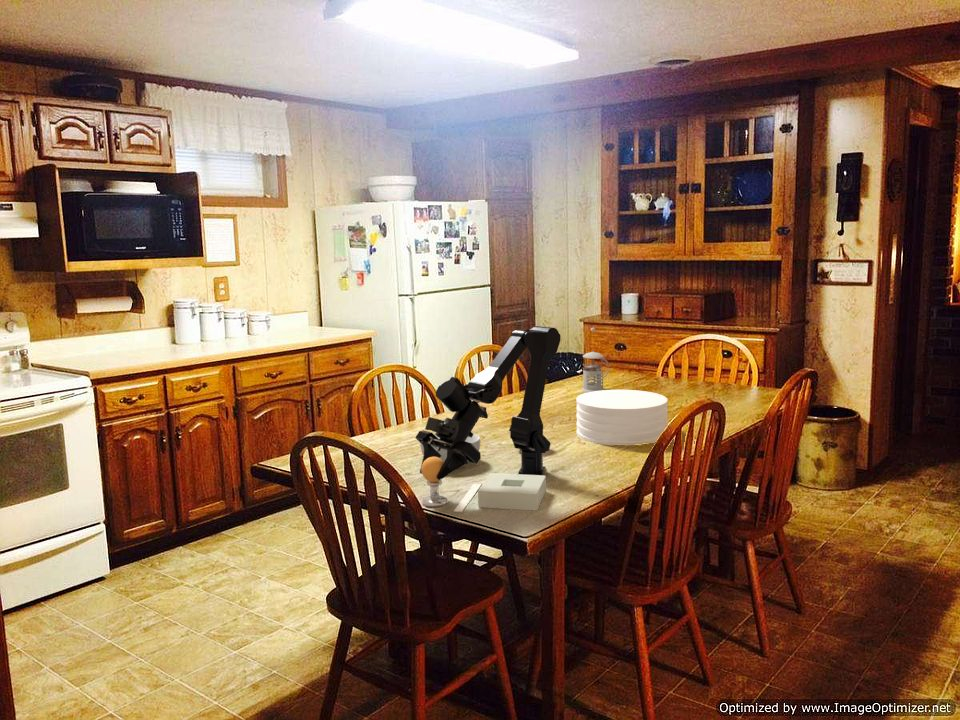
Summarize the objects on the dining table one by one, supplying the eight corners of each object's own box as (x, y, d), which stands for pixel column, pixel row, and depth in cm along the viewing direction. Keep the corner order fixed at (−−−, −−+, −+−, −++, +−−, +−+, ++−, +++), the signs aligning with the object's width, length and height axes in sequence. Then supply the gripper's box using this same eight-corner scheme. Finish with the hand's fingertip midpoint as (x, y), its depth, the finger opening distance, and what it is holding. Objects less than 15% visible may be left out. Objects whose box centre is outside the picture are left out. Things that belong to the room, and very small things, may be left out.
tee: (426, 498, 197) (425, 476, 196) (450, 499, 196) (449, 478, 195) (419, 506, 191) (418, 484, 191) (443, 508, 190) (442, 485, 189)
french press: (576, 388, 322) (576, 326, 318) (602, 386, 325) (603, 325, 321) (587, 393, 313) (586, 329, 309) (614, 391, 316) (614, 328, 312)
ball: (425, 476, 196) (425, 453, 195) (449, 477, 195) (448, 454, 194) (418, 484, 191) (417, 460, 190) (442, 485, 189) (442, 461, 188)
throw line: (473, 484, 207) (473, 483, 207) (481, 485, 206) (481, 484, 206) (453, 511, 187) (453, 511, 187) (461, 512, 187) (461, 511, 187)
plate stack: (669, 425, 262) (669, 390, 260) (664, 448, 236) (665, 410, 234) (583, 421, 270) (583, 388, 268) (570, 444, 243) (569, 407, 241)
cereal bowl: (448, 451, 238) (448, 428, 237) (492, 460, 228) (492, 436, 226) (408, 465, 225) (407, 440, 224) (453, 475, 215) (452, 450, 214)
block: (491, 488, 204) (490, 473, 203) (545, 491, 200) (545, 475, 200) (478, 507, 190) (478, 490, 189) (536, 510, 187) (536, 494, 186)
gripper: (419, 398, 199) (385, 450, 194) (470, 409, 186) (435, 466, 180) (445, 423, 206) (412, 474, 200) (495, 436, 192) (462, 491, 187)
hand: (429, 476), depth 192 cm, fingers closed on ball, 6 cm apart
